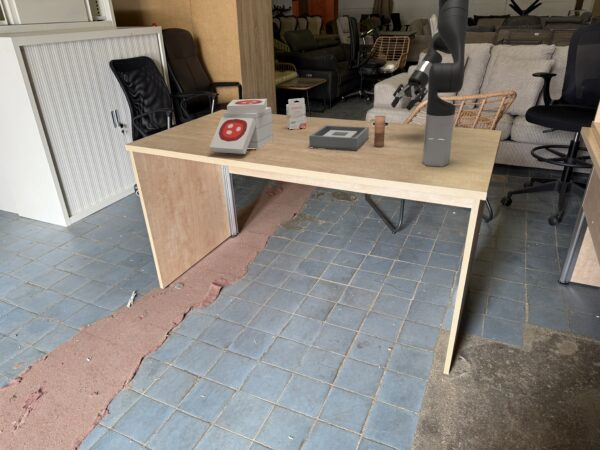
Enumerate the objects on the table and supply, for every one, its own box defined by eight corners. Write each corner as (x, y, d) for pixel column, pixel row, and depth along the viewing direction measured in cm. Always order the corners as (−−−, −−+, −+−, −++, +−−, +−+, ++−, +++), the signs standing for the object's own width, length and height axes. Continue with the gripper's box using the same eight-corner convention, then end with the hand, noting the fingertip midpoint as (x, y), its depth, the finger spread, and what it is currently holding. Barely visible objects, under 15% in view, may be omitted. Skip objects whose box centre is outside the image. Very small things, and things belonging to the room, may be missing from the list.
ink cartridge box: (303, 126, 211) (302, 96, 204) (306, 128, 206) (305, 97, 200) (287, 128, 209) (285, 97, 203) (289, 130, 205) (287, 99, 198)
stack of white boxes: (206, 156, 170) (200, 110, 162) (242, 138, 195) (238, 97, 187) (248, 159, 163) (243, 112, 155) (280, 140, 188) (277, 98, 180)
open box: (356, 151, 167) (356, 138, 165) (309, 147, 174) (309, 135, 172) (368, 138, 184) (368, 127, 182) (325, 136, 191) (325, 125, 189)
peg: (382, 147, 170) (384, 117, 165) (373, 147, 171) (374, 117, 166) (384, 145, 173) (386, 115, 168) (375, 144, 175) (376, 115, 169)
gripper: (405, 68, 175) (383, 100, 174) (431, 70, 164) (408, 104, 163) (413, 80, 180) (392, 111, 179) (439, 83, 169) (417, 116, 168)
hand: (400, 107), depth 171 cm, fingers open, 8 cm apart
